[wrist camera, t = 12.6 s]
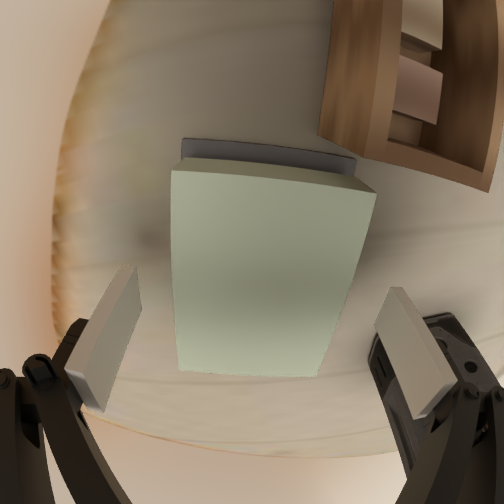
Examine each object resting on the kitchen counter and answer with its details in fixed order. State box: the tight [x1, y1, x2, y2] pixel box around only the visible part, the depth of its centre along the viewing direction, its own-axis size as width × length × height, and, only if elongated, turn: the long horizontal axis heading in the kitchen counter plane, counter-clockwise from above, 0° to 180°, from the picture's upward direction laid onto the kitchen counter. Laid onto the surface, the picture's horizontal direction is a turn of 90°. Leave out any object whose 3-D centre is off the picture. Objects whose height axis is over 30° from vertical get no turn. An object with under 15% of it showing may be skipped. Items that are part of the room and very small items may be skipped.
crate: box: [317, 0, 504, 193], centre depth 10 cm, size 12×7×7 cm, turn 174°
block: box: [171, 157, 377, 377], centre depth 17 cm, size 12×9×4 cm
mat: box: [181, 138, 356, 176], centre depth 19 cm, size 14×10×1 cm
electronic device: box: [369, 315, 500, 479], centre depth 15 cm, size 9×6×20 cm, turn 94°
